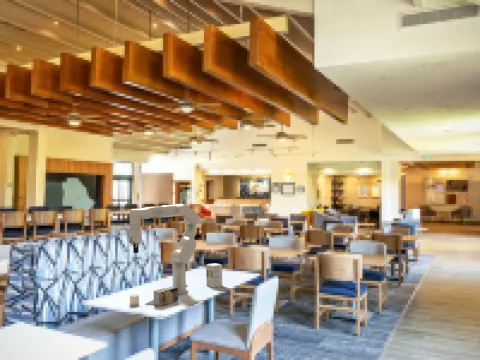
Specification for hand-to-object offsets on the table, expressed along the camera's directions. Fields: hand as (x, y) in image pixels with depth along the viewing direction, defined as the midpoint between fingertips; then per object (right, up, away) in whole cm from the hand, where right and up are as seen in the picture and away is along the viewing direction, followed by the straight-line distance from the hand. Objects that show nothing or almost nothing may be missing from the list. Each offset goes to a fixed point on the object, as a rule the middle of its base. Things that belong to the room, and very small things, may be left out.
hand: (135, 252), depth 286 cm
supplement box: (+53, -33, +36) cm, 72 cm away
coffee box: (+18, -27, -18) cm, 37 cm away
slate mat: (+20, -32, -9) cm, 39 cm away
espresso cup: (+2, -32, -13) cm, 35 cm away
